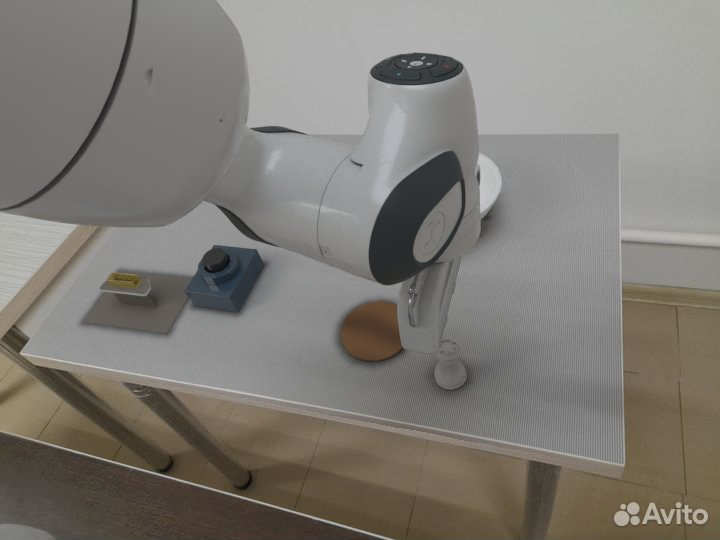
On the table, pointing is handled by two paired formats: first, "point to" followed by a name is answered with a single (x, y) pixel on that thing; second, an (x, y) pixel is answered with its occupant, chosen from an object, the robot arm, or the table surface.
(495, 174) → the bowl
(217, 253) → the dark grey push button
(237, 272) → the blue push button box
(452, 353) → the rook chess piece
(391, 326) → the coaster
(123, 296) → the platform
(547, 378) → the table surface
